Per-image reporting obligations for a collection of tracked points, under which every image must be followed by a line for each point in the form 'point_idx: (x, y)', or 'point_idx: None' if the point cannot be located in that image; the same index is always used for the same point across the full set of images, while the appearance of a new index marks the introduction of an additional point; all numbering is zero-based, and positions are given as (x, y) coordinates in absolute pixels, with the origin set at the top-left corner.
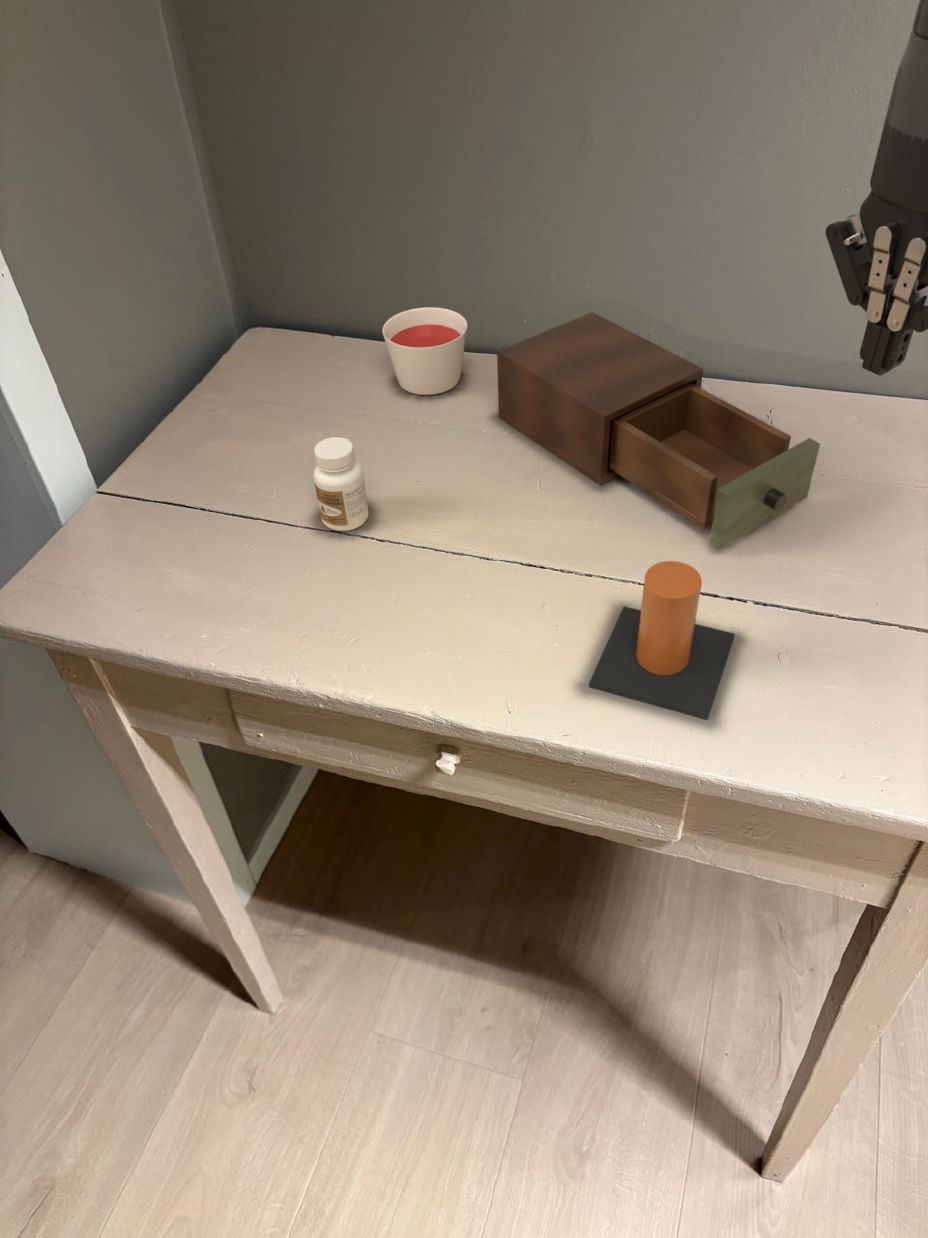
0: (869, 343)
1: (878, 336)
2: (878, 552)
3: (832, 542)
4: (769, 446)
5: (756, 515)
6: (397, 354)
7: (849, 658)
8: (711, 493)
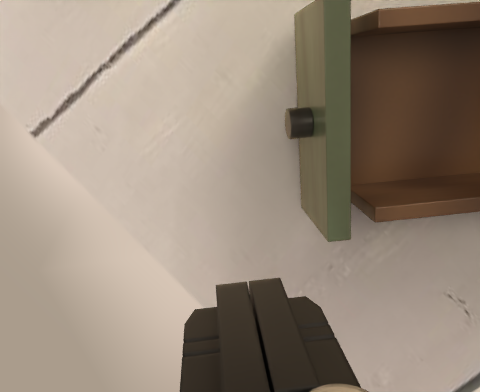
0: (292, 326)
1: (268, 356)
2: (173, 209)
3: (221, 176)
4: (390, 196)
5: (303, 93)
6: None
7: (32, 13)
8: (365, 19)
